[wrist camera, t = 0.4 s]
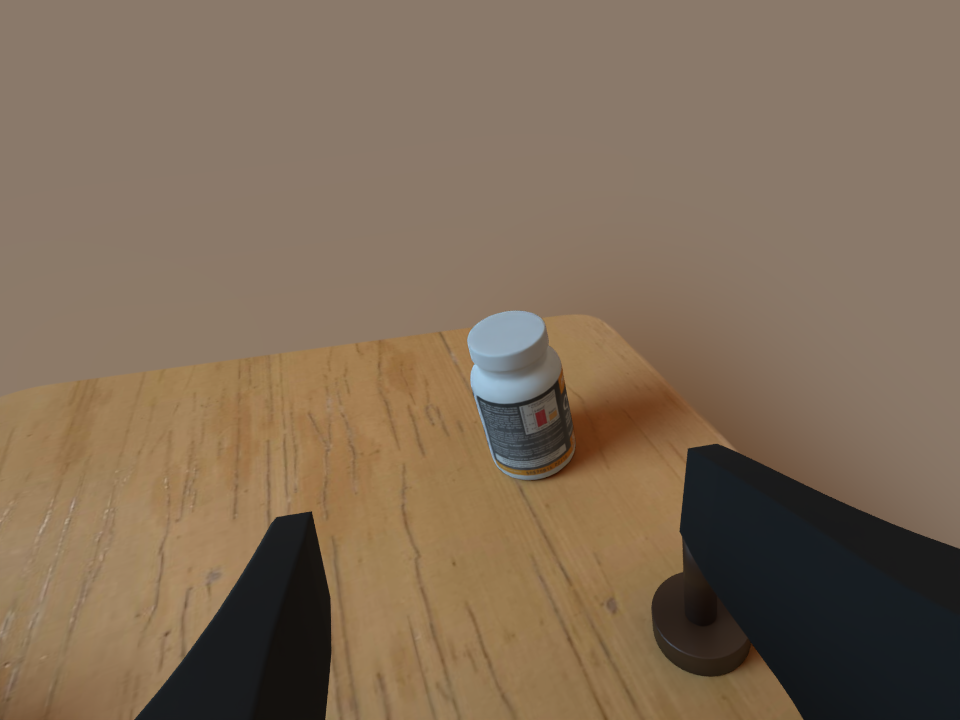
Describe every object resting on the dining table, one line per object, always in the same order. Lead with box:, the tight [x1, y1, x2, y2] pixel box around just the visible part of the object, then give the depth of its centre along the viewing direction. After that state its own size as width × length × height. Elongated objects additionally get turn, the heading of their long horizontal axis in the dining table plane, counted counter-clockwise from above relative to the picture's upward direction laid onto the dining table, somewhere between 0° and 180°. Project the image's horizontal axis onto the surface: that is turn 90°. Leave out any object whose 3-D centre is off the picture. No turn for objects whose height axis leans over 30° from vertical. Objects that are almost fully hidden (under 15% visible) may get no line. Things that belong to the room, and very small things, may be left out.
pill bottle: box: [467, 311, 575, 480], centre depth 38 cm, size 6×6×10 cm
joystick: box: [652, 537, 751, 676], centre depth 27 cm, size 4×4×8 cm
